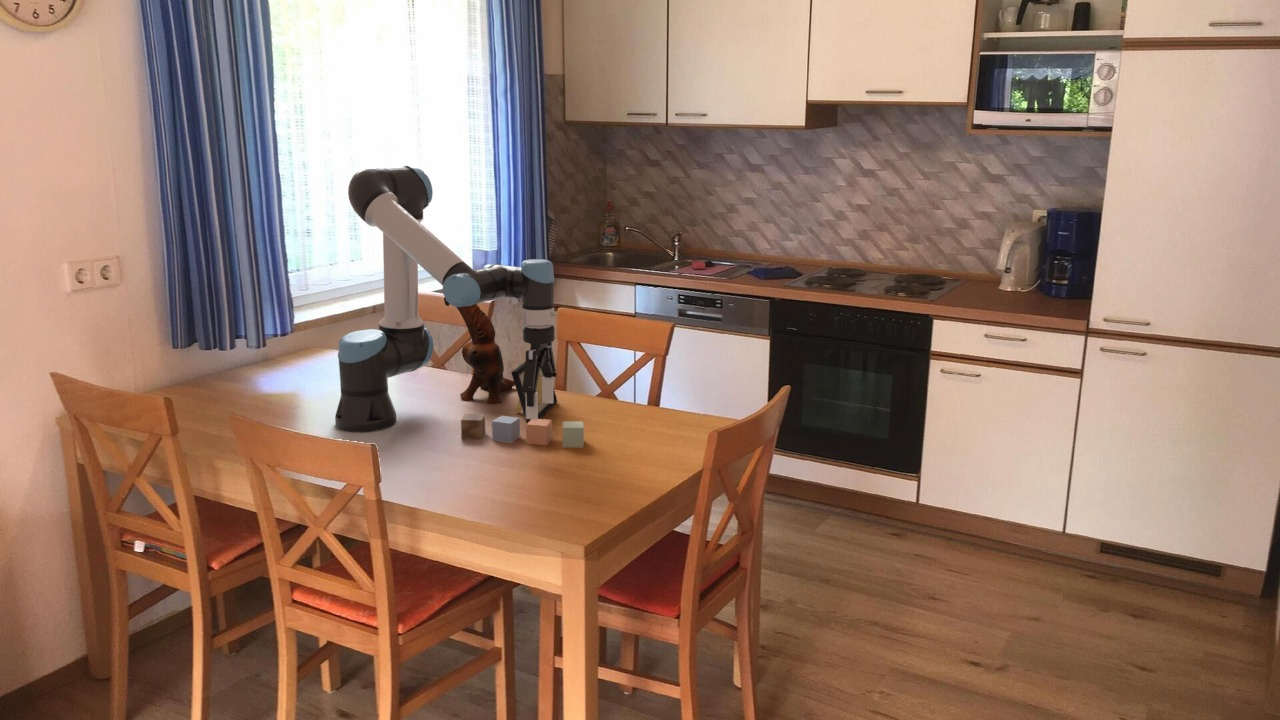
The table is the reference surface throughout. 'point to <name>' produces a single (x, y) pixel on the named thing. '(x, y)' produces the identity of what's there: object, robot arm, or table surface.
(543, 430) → the terracotta block
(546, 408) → the picture frame
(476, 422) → the walnut block
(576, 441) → the sage block
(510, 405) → the table surface
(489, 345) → the sculpture
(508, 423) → the slate block
